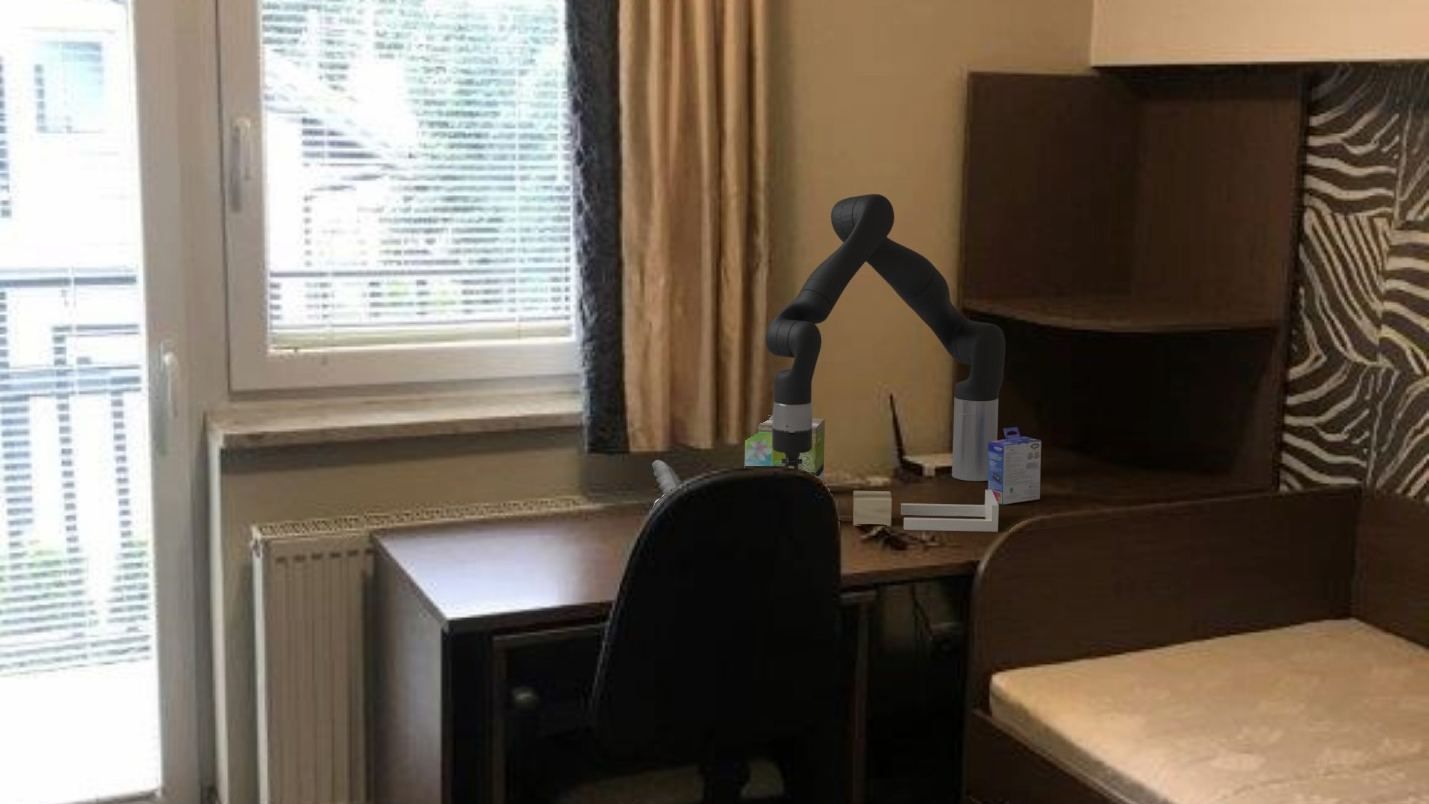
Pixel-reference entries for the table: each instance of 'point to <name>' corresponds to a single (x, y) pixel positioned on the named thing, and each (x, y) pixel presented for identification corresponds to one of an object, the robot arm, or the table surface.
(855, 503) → the beech mallet
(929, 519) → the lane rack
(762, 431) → the tea box
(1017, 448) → the ink cartridge box
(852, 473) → the table surface
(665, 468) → the grey ribbed curved piece
